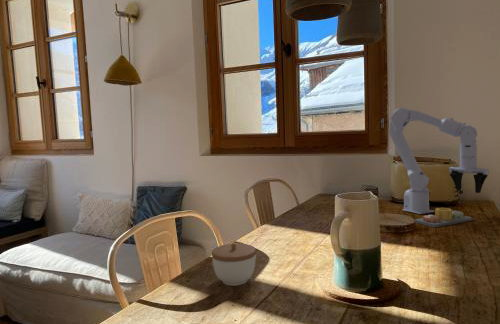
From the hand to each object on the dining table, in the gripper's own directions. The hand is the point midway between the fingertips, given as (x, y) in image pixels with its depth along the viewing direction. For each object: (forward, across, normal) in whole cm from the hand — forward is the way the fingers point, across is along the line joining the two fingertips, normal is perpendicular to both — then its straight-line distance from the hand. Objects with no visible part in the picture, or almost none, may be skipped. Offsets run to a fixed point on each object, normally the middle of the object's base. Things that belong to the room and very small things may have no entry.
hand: (468, 191), depth 145 cm
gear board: (+9, 0, -16) cm, 18 cm away
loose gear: (+8, 0, -16) cm, 18 cm away
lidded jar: (+9, +6, -105) cm, 106 cm away
